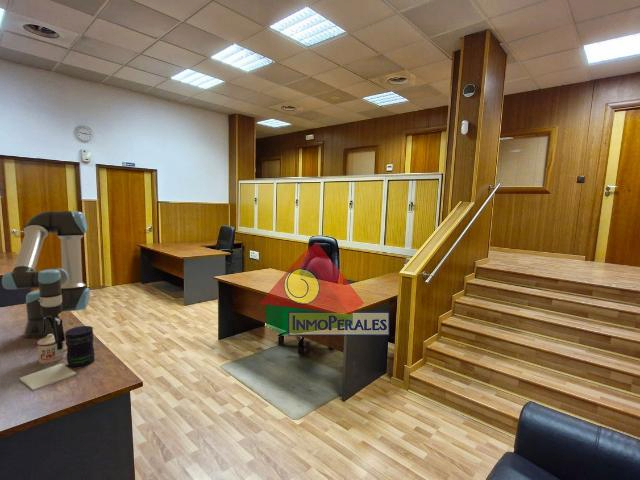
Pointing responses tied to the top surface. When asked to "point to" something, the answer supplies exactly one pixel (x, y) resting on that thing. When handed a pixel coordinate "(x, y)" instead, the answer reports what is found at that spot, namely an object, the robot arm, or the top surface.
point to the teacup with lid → (48, 350)
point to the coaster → (47, 376)
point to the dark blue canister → (80, 346)
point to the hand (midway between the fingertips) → (54, 352)
